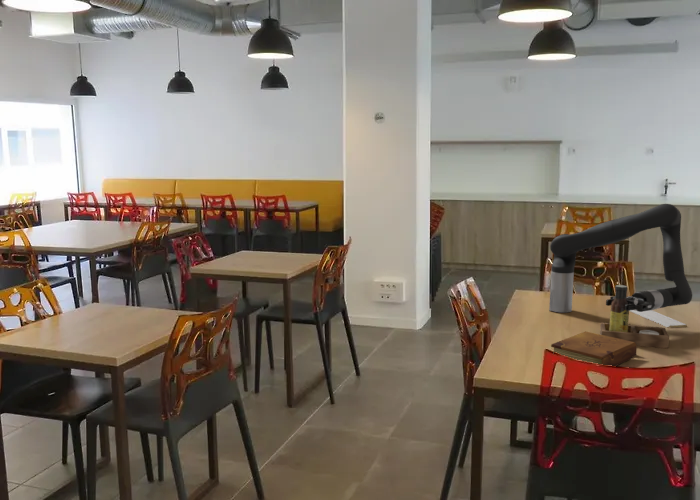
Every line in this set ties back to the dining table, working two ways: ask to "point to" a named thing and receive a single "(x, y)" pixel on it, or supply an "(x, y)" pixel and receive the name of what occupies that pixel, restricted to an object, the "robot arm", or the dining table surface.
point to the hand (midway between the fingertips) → (616, 305)
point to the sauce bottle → (619, 310)
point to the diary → (596, 348)
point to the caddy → (639, 335)
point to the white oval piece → (648, 332)
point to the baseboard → (659, 318)
